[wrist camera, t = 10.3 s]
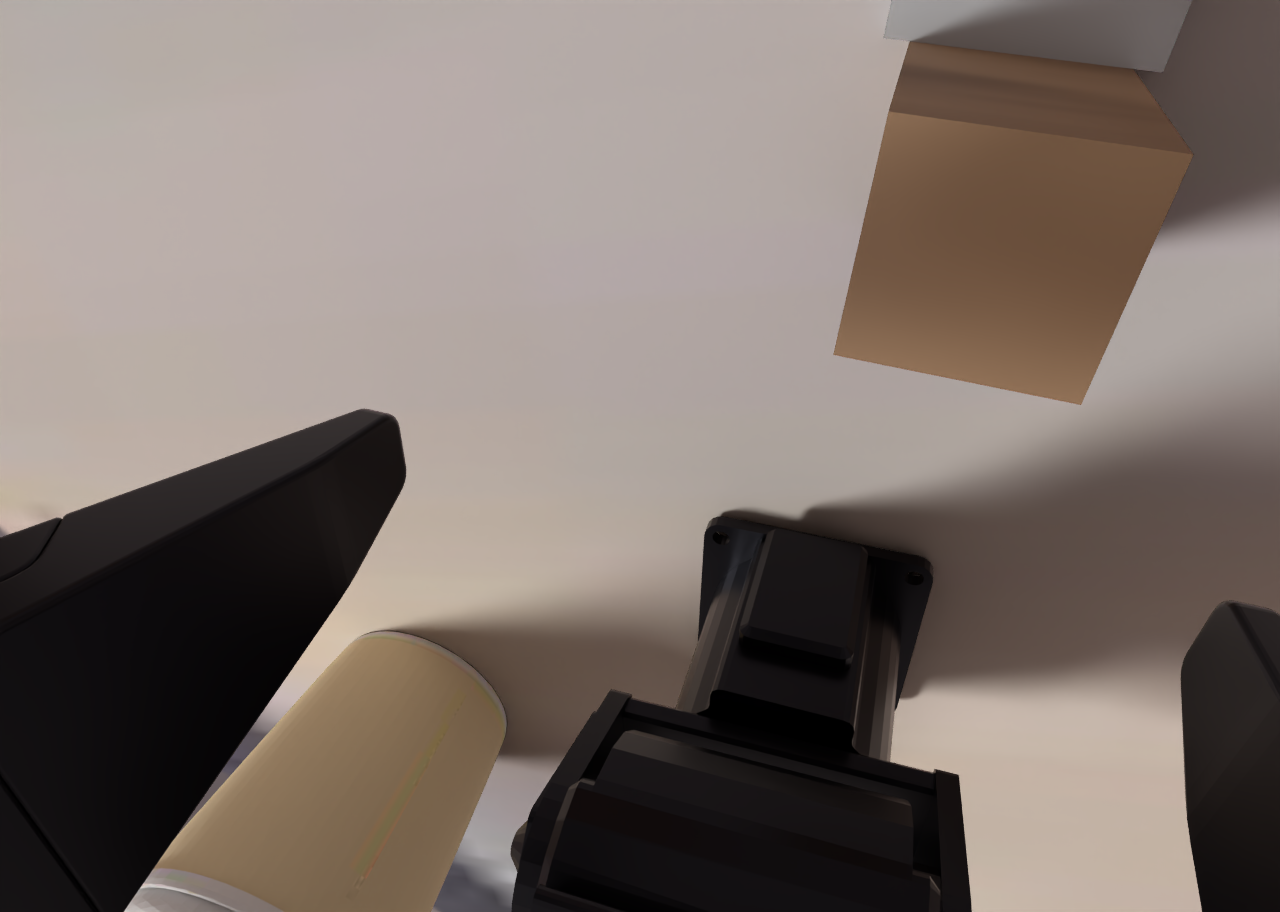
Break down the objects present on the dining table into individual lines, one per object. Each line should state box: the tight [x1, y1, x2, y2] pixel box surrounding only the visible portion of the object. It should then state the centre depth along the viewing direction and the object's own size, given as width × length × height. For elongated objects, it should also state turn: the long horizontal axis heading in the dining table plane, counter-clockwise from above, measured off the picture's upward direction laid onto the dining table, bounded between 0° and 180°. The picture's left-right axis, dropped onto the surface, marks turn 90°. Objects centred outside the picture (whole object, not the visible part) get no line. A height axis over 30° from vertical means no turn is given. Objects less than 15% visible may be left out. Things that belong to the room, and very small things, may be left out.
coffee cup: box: [124, 631, 507, 912], centre depth 31 cm, size 9×9×12 cm
